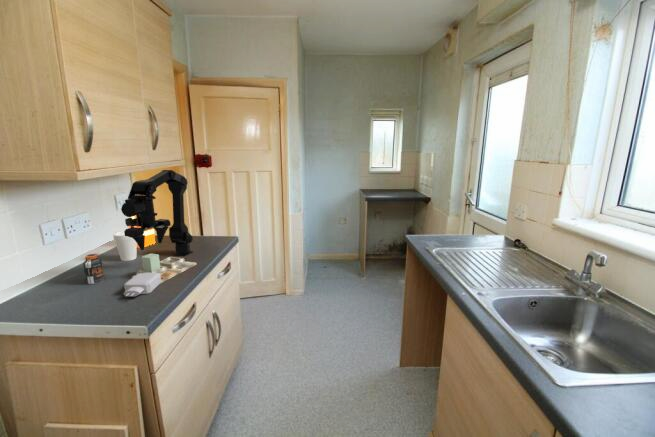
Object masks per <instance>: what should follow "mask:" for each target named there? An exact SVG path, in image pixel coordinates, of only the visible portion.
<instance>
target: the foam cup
mask: <svg viewBox="0 0 655 437" xmlns="http://www.w3.org/2000/svg"><path fill="white" fill-rule="evenodd" d="M124 231H125V230H122V231H117V232H115V233H113V234H112V236H113V240H114V241H115V245H116V246H115V247H116V248H117V251H118V254H119V258H120V260H121V261H122V262H127V261H133V260H135V259H137V256H138V254H137V251H138V249H137V248H138V247H137V243H136V241H135V240H134V239H133V238H131V237H128V236H125V233H124Z"/></svg>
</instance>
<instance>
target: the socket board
mask: <svg viewBox="0 0 655 437" xmlns="http://www.w3.org/2000/svg"><path fill="white" fill-rule="evenodd" d="M159 261H160V269H158V270H156V271H154V272H152V273H159V274H160V275H161V283H160V284H162V283H164V282H166V281H168V280H169V279H172V278H173V277H175V276H178V275H179V274H181V273H182V272H185V271H187V270H189V269H191V268H193V267H194V266H196V265H197V262H193V261H185V258H184V257H176V256H169V257H166V258H164V259H162V260H159ZM139 273H151V272H144V271H143V268H141V269H139V270H136V274H134V275H132V276H131V278H133V277H134V276H135V275H137V274H139Z"/></svg>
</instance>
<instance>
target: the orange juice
mask: <svg viewBox="0 0 655 437" xmlns="http://www.w3.org/2000/svg"><path fill="white" fill-rule="evenodd" d="M128 218H132V219H135V218H136V215H135V216H132V217H128ZM134 227H137V226H134ZM128 228H131V226H128ZM138 228H141V227H138ZM143 235H145V245H144V248H146V247H149V245H150V246H153V245H155V243H156V235H155V229H154V228H153V229H149V230H146V231H144V234H143ZM152 244H153V245H152ZM137 248H138V249H140V247H139V246H138V244H137Z"/></svg>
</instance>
